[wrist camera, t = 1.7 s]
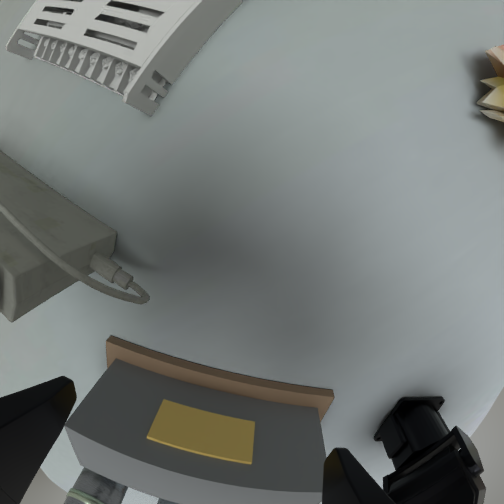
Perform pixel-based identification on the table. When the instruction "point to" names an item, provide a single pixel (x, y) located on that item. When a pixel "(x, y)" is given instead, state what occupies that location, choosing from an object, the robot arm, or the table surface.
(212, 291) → the table surface
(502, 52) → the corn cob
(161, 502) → the cylinder
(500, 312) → the table surface
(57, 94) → the table surface
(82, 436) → the block
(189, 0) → the power supply unit
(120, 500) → the cylinder
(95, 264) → the geiger counter
